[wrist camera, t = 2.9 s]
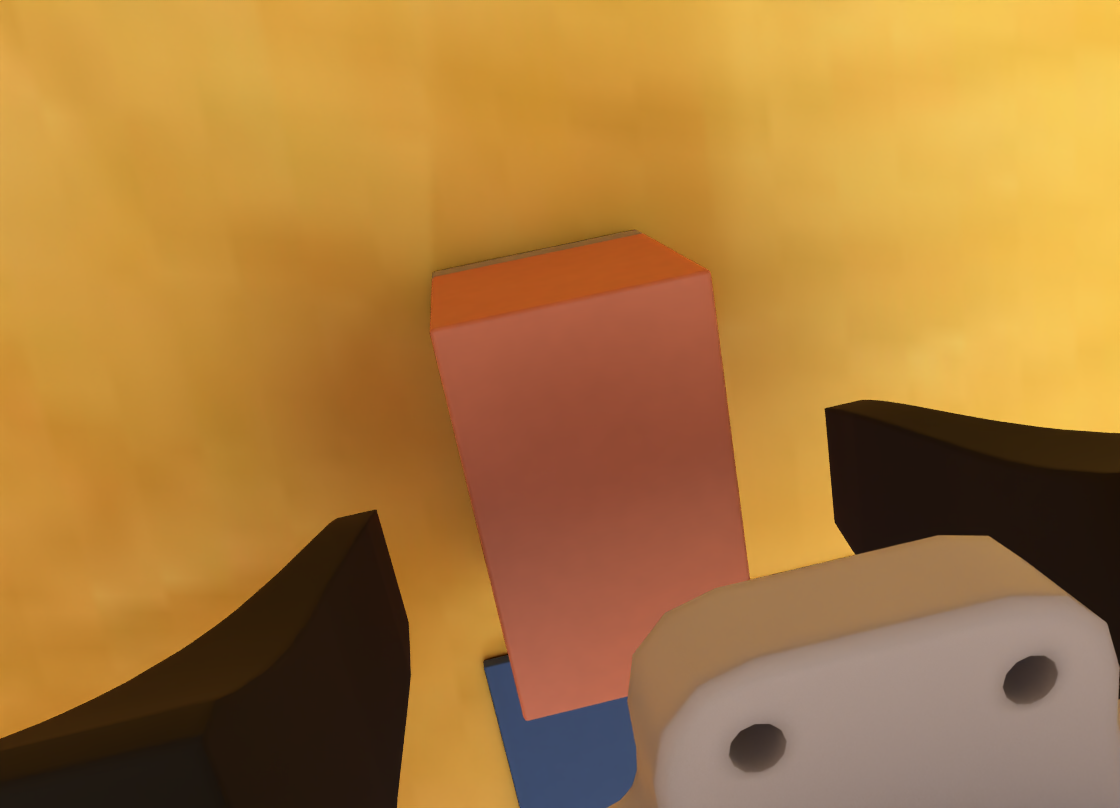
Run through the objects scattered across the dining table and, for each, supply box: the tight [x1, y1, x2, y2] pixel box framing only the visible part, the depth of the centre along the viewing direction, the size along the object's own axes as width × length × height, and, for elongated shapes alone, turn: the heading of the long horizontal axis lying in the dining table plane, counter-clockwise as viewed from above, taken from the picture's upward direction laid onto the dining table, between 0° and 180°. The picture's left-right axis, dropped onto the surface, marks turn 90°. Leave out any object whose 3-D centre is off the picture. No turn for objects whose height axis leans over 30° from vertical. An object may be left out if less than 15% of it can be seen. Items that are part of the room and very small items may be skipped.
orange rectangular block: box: [430, 230, 750, 721], centre depth 16 cm, size 4×7×5 cm, turn 11°
